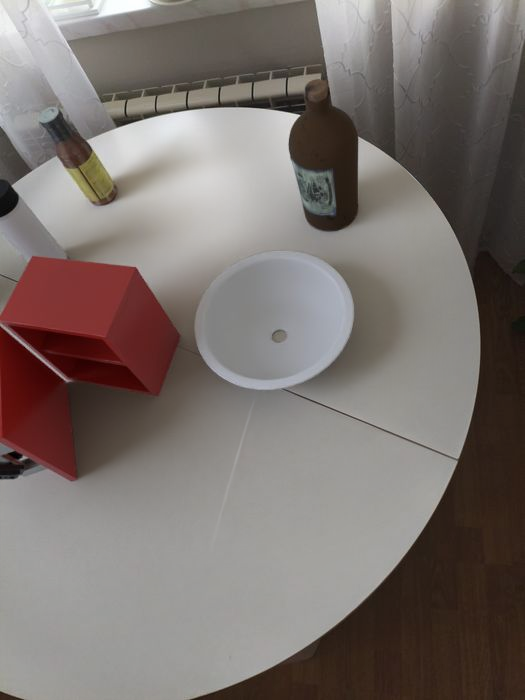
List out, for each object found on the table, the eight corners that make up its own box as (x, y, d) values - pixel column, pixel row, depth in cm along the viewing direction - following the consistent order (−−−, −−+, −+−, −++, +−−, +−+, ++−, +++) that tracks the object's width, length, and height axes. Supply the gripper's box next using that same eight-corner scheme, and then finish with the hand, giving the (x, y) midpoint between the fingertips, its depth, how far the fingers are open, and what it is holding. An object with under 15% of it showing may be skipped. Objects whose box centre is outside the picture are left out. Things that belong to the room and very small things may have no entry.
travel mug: (42, 286, 102) (-27, 211, 85) (35, 261, 106) (-32, 185, 89) (73, 271, 103) (10, 194, 86) (65, 247, 106) (3, 169, 89)
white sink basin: (252, 257, 96) (244, 232, 90) (382, 302, 87) (381, 277, 81) (178, 370, 88) (164, 351, 82) (311, 433, 79) (306, 416, 73)
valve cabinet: (158, 396, 87) (105, 336, 70) (66, 379, 91) (-3, 320, 75) (181, 336, 91) (136, 266, 75) (92, 323, 96) (32, 255, 80)
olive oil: (319, 182, 101) (301, 55, 80) (372, 197, 97) (368, 68, 76) (290, 224, 98) (263, 103, 76) (344, 242, 94) (332, 120, 72)
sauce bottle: (117, 180, 112) (69, 95, 95) (118, 202, 109) (68, 119, 92) (87, 189, 113) (33, 106, 96) (87, 211, 110) (32, 129, 93)
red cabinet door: (37, 493, 83) (-48, 454, 66) (31, 395, 91) (-45, 339, 75) (77, 479, 82) (2, 437, 66) (67, 382, 91) (-2, 324, 75)
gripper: (-133, 505, 62) (31, 499, 71) (-119, 397, 69) (28, 405, 78) (-137, 528, 66) (17, 519, 76) (-124, 425, 73) (16, 429, 83)
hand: (22, 461), depth 77 cm, fingers closed on red cabinet door, 2 cm apart
